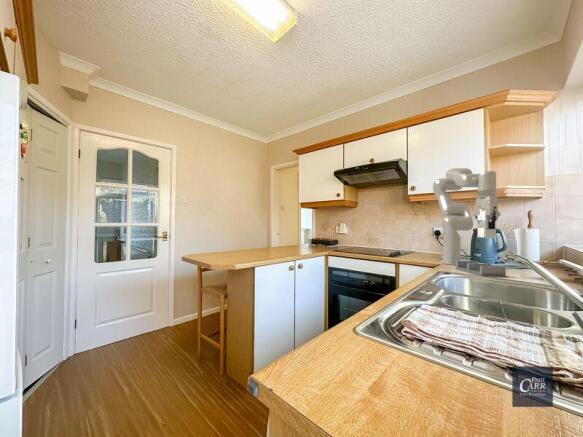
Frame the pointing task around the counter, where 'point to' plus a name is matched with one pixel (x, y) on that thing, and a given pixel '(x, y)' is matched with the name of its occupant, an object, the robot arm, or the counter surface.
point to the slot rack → (480, 268)
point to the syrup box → (484, 226)
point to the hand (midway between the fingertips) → (486, 228)
